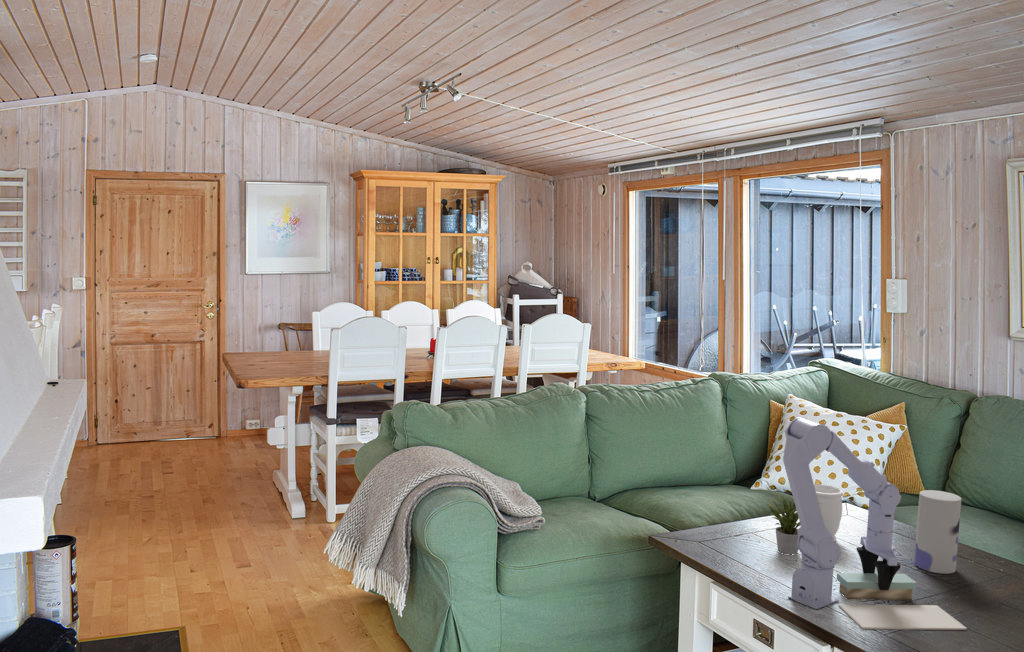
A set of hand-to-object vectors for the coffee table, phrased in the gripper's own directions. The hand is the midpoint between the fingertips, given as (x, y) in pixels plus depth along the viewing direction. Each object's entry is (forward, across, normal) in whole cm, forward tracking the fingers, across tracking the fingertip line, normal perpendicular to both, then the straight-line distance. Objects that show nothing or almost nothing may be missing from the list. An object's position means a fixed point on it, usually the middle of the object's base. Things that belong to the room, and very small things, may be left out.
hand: (876, 583), depth 202 cm
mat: (+3, -12, 0) cm, 12 cm away
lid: (0, 0, 0) cm, 0 cm away
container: (+3, +19, -26) cm, 33 cm away
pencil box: (+3, 0, 0) cm, 3 cm away
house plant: (+3, +30, +9) cm, 31 cm away
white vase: (+3, +41, -4) cm, 41 cm away
